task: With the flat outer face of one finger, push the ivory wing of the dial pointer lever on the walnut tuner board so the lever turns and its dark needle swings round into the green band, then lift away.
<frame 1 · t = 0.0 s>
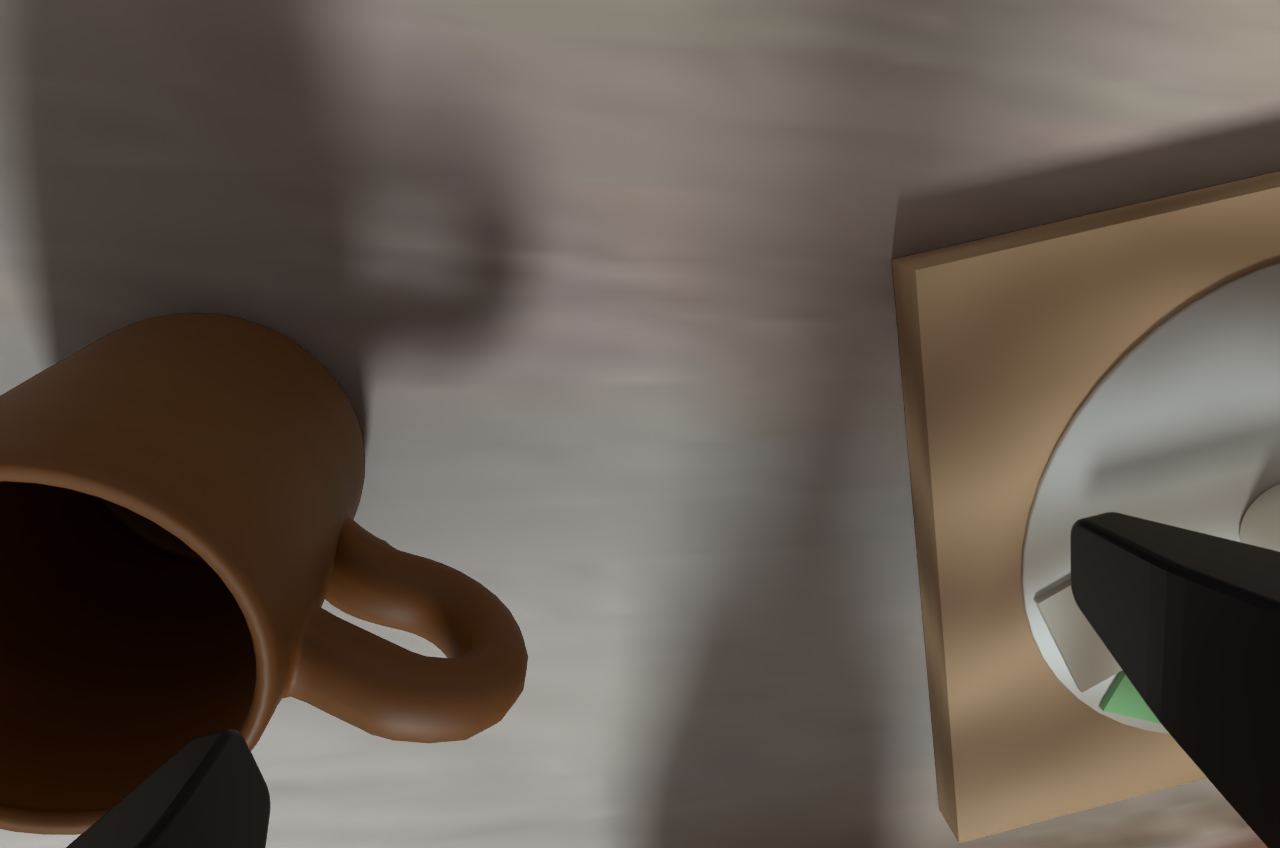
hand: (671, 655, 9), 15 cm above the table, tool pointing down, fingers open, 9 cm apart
tuner board: (1234, 494, 27), on the table
mug: (310, 463, 23), on the table
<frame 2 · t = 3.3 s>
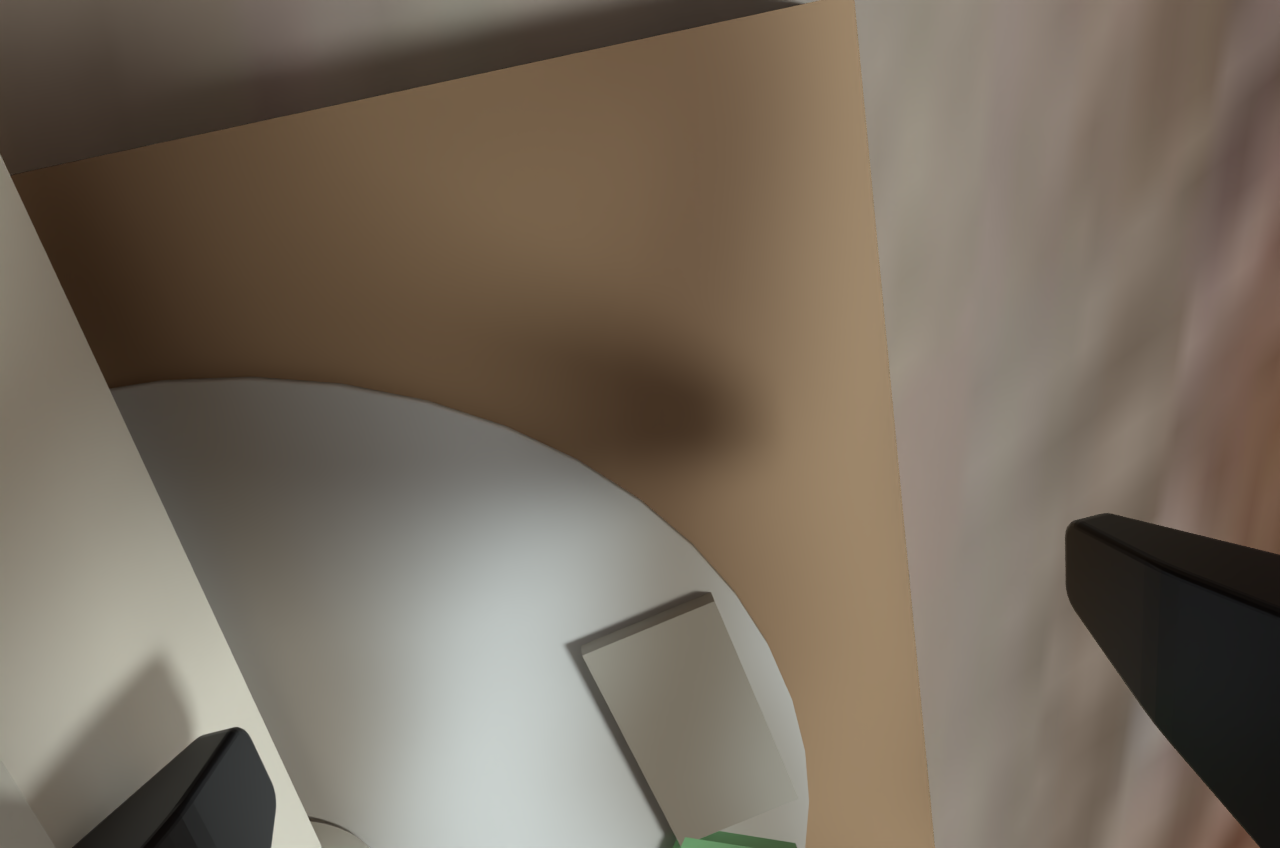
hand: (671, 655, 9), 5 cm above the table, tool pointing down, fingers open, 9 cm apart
tuner board: (322, 797, 15), on the table
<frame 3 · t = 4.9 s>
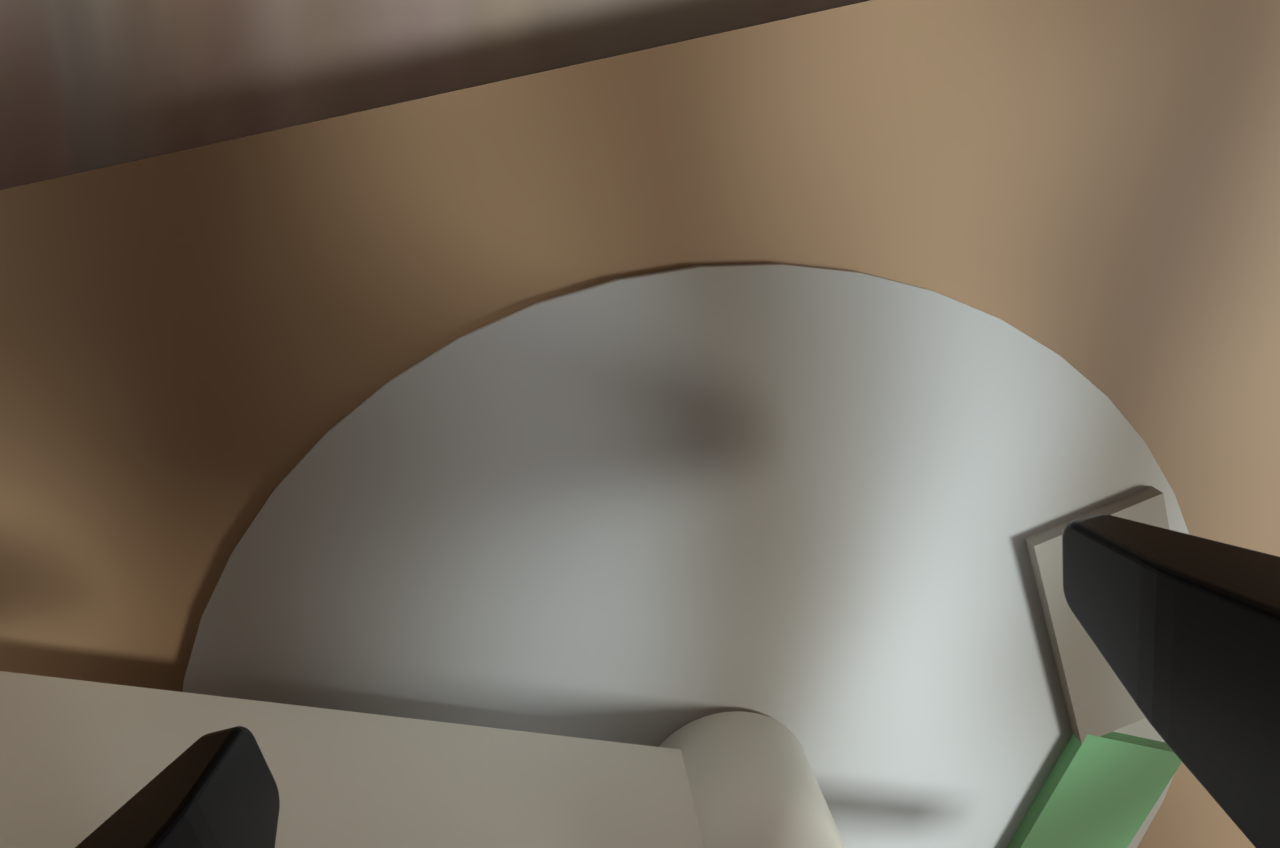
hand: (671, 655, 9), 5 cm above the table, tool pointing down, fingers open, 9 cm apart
tuner board: (702, 704, 15), on the table
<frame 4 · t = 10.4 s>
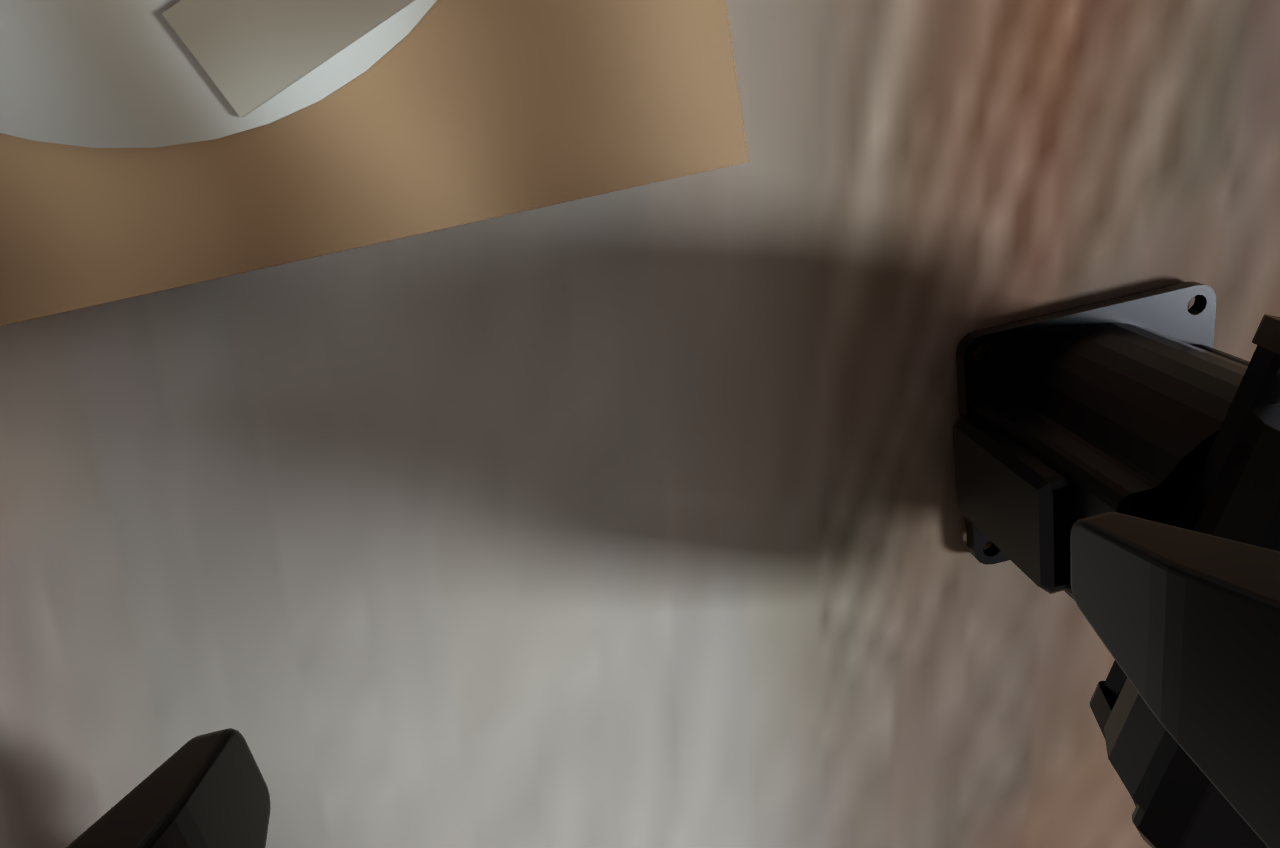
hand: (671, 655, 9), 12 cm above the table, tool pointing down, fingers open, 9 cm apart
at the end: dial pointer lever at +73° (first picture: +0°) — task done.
